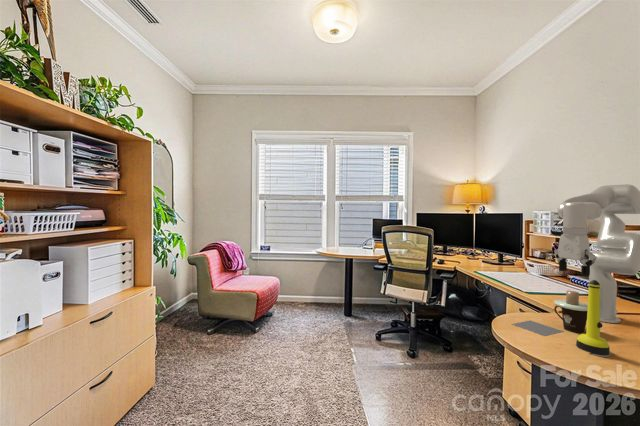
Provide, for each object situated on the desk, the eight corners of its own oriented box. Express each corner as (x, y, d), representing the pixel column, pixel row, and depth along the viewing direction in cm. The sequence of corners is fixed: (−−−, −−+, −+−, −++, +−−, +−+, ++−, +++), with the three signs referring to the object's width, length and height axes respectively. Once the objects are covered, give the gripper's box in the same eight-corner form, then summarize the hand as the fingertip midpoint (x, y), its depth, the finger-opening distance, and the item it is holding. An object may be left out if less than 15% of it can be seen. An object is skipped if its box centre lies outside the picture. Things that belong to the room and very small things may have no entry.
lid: (563, 300, 132) (564, 287, 132) (598, 309, 121) (598, 294, 121) (547, 303, 127) (548, 289, 127) (581, 312, 116) (582, 297, 116)
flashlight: (572, 278, 107) (604, 283, 99) (586, 276, 111) (617, 281, 103) (570, 347, 108) (601, 358, 99) (584, 343, 111) (615, 354, 103)
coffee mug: (593, 337, 117) (594, 311, 117) (568, 334, 119) (569, 309, 119) (574, 326, 129) (575, 303, 129) (551, 324, 131) (552, 301, 130)
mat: (530, 321, 133) (530, 320, 133) (563, 332, 121) (563, 331, 121) (511, 325, 127) (511, 324, 127) (544, 337, 116) (544, 336, 116)
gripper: (548, 230, 132) (547, 269, 132) (587, 233, 115) (586, 278, 115) (563, 230, 133) (562, 268, 133) (604, 233, 116) (603, 277, 116)
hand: (573, 273), depth 124 cm, fingers open, 9 cm apart
